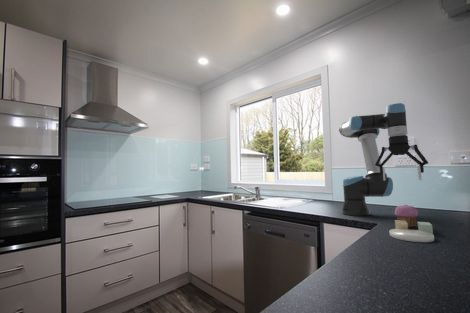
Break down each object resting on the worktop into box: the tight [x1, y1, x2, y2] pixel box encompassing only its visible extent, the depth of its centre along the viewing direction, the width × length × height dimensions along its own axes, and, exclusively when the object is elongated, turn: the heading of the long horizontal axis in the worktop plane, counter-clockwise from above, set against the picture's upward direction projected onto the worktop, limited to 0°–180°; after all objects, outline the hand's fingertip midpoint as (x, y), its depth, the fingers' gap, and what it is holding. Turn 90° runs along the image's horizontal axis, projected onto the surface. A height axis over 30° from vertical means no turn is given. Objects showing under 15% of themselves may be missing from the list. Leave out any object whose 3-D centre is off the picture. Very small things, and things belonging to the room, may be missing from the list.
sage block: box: [416, 221, 434, 235], centre depth 94 cm, size 6×4×4 cm, turn 148°
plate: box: [388, 228, 435, 243], centre depth 89 cm, size 14×14×2 cm
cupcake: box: [394, 204, 419, 228], centre depth 105 cm, size 9×9×10 cm
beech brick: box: [394, 219, 409, 229], centre depth 98 cm, size 6×4×4 cm, turn 149°
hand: (401, 180), depth 106 cm, fingers open, 13 cm apart
